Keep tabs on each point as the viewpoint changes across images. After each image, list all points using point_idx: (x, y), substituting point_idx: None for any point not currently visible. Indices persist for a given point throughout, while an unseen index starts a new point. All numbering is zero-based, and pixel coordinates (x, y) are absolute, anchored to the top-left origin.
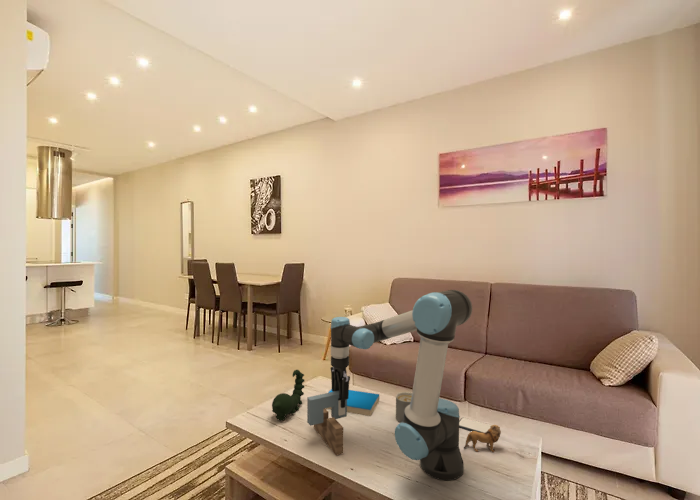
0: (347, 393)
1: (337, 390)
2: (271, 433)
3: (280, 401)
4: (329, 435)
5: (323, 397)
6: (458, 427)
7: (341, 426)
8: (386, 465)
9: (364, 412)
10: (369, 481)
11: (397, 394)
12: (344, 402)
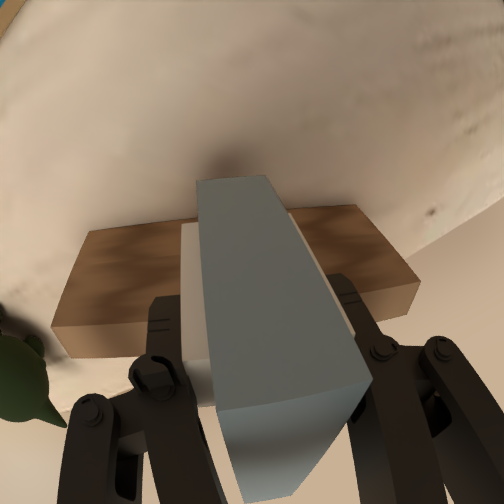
0: (484, 406)
1: (205, 448)
2: (116, 373)
3: (34, 415)
4: None
5: (303, 480)
6: None
7: (409, 287)
8: (480, 106)
9: None
10: (484, 193)
11: None
12: (369, 321)
